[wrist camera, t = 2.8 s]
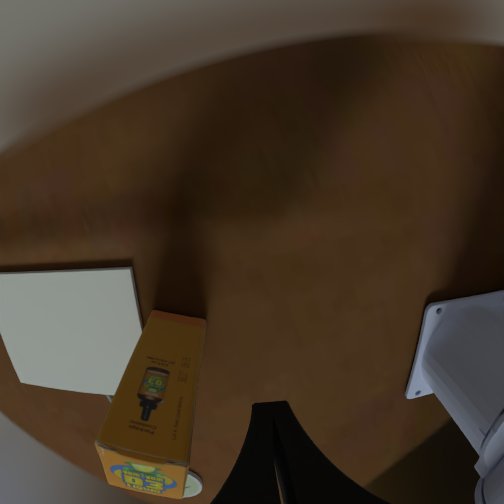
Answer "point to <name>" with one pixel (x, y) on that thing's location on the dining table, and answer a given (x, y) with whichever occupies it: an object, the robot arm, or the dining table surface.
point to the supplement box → (155, 408)
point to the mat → (70, 326)
